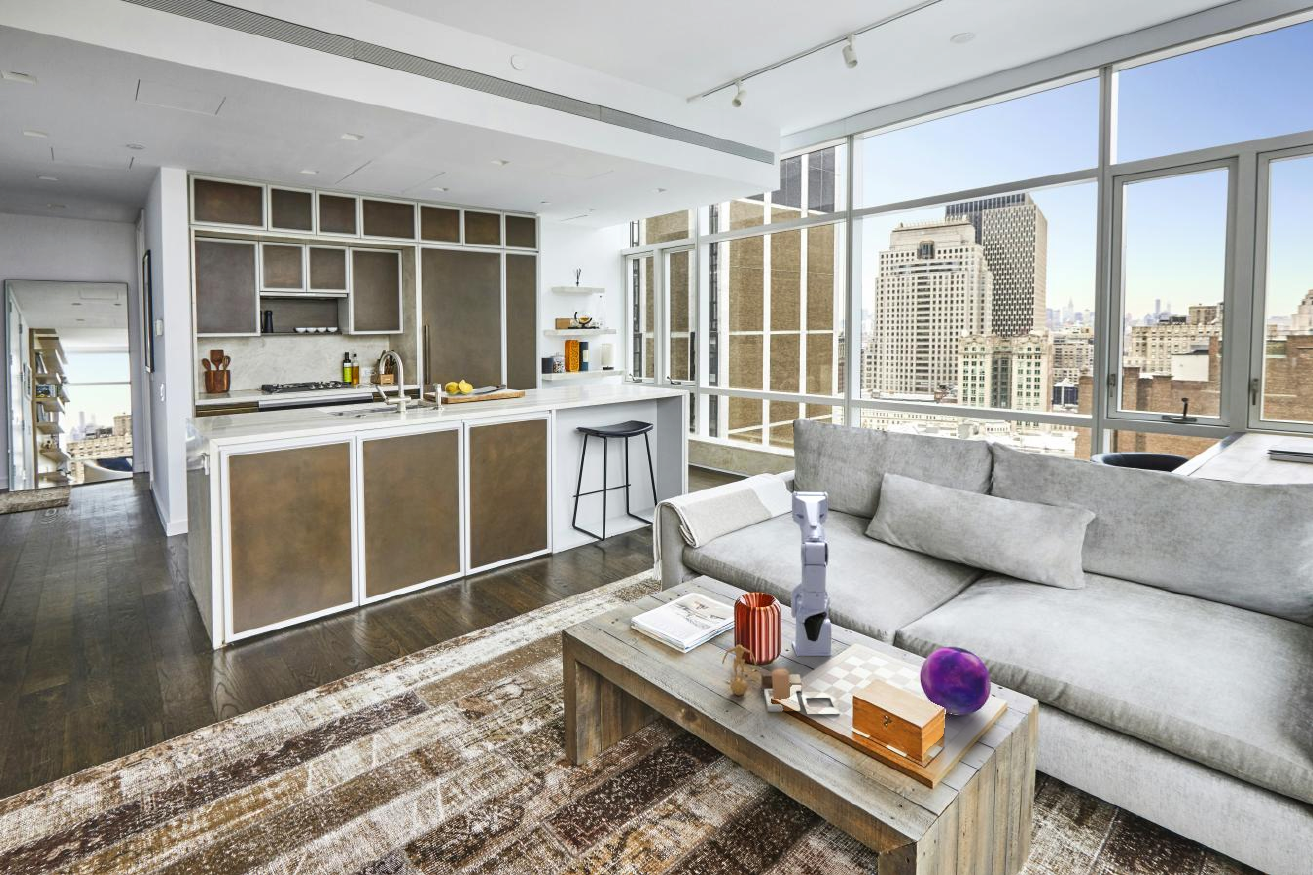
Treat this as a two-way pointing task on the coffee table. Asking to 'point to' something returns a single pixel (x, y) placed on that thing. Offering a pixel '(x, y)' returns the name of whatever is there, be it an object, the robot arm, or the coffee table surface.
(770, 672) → the brown rectangular block
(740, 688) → the figurine
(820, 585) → the robot arm
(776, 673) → the dowel
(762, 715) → the coffee table surface
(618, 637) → the coffee table surface
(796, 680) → the cream rectangular block
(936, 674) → the decorative orb
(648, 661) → the coffee table surface
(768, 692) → the tray
